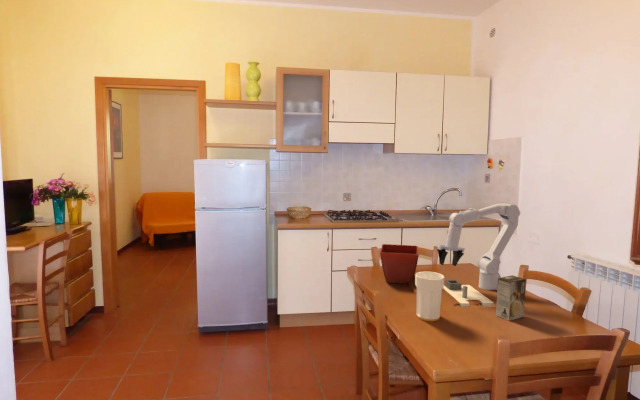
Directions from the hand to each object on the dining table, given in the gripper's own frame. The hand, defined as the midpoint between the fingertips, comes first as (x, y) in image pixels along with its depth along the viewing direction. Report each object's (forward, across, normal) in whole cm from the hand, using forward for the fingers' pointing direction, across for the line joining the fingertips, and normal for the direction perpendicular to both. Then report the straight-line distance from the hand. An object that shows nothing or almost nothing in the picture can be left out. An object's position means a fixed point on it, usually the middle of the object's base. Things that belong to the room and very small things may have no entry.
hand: (447, 264), depth 189 cm
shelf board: (+12, -5, +10) cm, 16 cm away
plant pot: (+16, +11, -22) cm, 29 cm away
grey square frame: (+11, -5, +1) cm, 12 cm away
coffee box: (+11, -7, +34) cm, 37 cm away
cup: (+16, +25, +24) cm, 38 cm away
